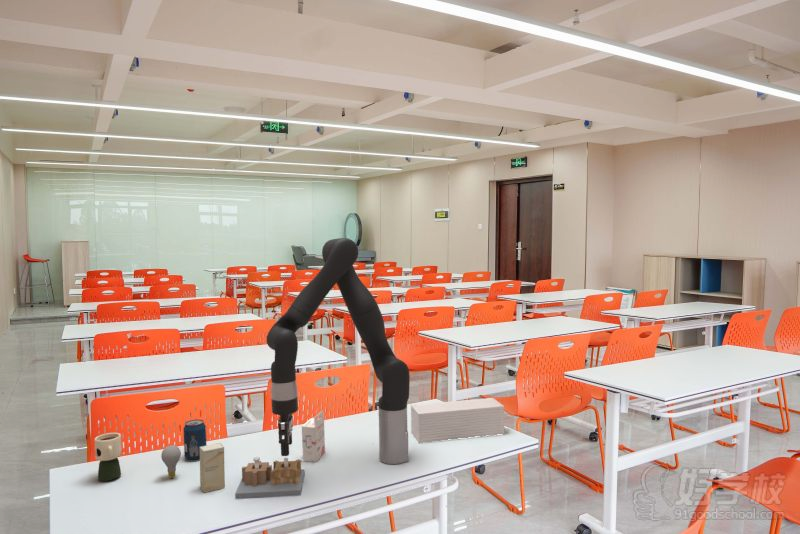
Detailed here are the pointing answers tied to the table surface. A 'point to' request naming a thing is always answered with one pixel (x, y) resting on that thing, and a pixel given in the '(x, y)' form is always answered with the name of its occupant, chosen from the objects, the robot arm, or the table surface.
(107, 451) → the character mug
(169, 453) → the light bulb
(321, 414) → the ink cartridge box
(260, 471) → the gear board
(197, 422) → the soda can
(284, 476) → the oak gear
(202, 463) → the skincare box
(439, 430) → the stack of papers
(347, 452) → the table surface
